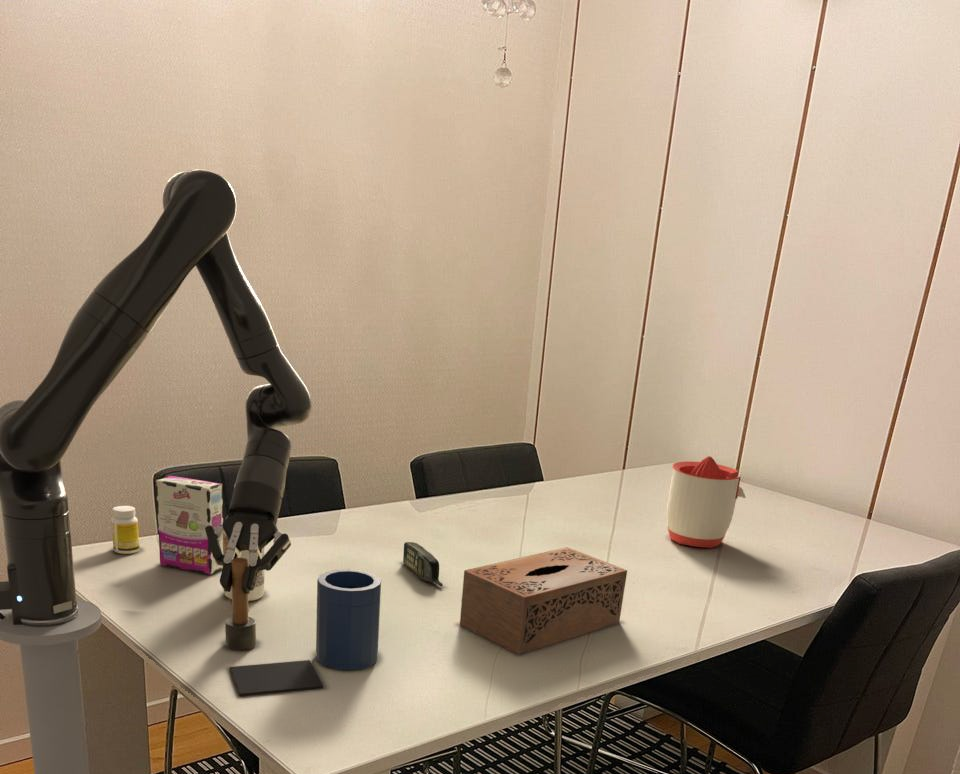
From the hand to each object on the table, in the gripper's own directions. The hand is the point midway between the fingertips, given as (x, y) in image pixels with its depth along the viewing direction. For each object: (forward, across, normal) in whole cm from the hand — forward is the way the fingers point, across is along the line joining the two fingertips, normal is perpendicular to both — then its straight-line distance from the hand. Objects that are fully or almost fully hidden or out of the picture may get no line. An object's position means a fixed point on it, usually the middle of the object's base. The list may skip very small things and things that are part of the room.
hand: (235, 590), depth 146 cm
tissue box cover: (-10, +47, +24) cm, 54 cm away
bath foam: (-9, -6, +23) cm, 25 cm away
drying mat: (+13, +8, +1) cm, 15 cm away
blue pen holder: (+6, +17, +8) cm, 20 cm away
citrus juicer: (-53, +82, +68) cm, 119 cm away
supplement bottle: (-20, -34, +34) cm, 52 cm away
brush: (+6, 0, +8) cm, 10 cm away
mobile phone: (-23, +23, +37) cm, 50 cm away
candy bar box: (-17, -19, +31) cm, 40 cm away
